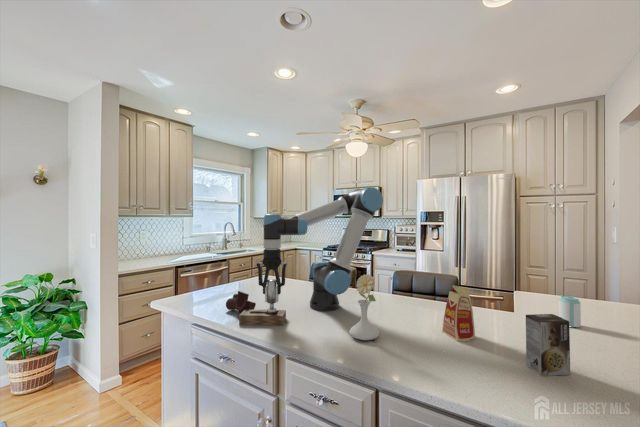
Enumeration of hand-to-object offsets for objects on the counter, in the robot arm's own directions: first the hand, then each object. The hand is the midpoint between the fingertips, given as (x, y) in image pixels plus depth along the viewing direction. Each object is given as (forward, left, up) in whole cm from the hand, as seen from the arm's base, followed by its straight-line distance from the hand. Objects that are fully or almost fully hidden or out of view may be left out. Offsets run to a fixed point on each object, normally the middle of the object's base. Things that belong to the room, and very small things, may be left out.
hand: (271, 301), depth 130 cm
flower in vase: (-40, +15, -9) cm, 43 cm away
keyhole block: (+4, 0, -9) cm, 10 cm away
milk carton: (-77, +11, -9) cm, 78 cm away
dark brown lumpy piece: (+17, -11, -9) cm, 22 cm away
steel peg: (0, 0, -5) cm, 5 cm away
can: (-129, -2, -9) cm, 129 cm away
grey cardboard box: (-93, +36, -9) cm, 100 cm away
